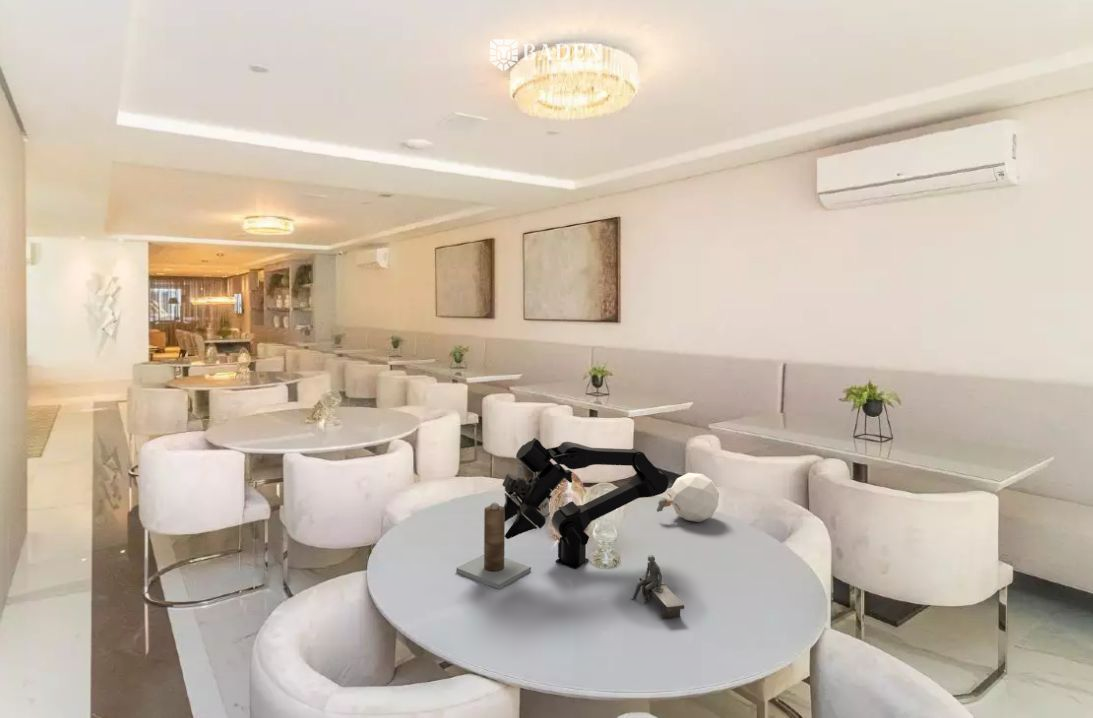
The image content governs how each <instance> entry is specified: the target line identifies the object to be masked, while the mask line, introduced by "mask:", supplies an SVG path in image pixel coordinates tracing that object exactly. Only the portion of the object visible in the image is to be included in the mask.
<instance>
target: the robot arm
mask: <svg viewBox="0 0 1093 718" xmlns="http://www.w3.org/2000/svg"><path fill="white" fill-rule="evenodd" d="M515 457H516V458H517V460H518V461H519V462H520V463H521V462H522V463H523V464H524V465H525V466H526V467H527V468H528V469H529V470H530V471H531V472H539V473H538V474H537V475H536V476H537V477H536V476H535V477H534V478H532V477H529V478H528V479H527V480H524V479H521V478H519V477H518V476H516V475H513V474H511V473H506V476H505V478H504V480H503V483H502V487H504V491H505V492H504V498H505V499H504V500H505V501H504V505H503V507H504V508H505V523H506V522H507V521H509V520H510V519H511V518H513V517H515V516H516V515H517V517H516V519H515V520H514V521H513V523H512V525H510V527H509V529H507V531H506V533H505V539H506V540H510V539H511V538H514V537H516V536H517V537H518V536H519V535H521V534H524V533H527V532H529V531H532V530H537V529H542V528H543V526H544V525H545V524H546V517H545V516H544V515H543V514H542V513H541V512H540V508H539V506H540V505H541V504H542V503H543V501H544V500H545V499H546V498H548V499H550V498H552V493H553V492H554V490H556V489H557V487H558V486H559V485H560V484H561V483H562V482H563V481H564V480H566V481H567V482H569V483H570V484H571V483H573V477H572V476H573V472H572V470H578V469H585V468H587V467H590V466H595V465H598V466H601V465H602V466H605V465H606V466H628V467H632V468H633V470H634V472H635V474H634V475H633V477H632V478H631V480H629V482H627V483H625V484H622V485H620V486H619V487H616V488H615V489H612V490H610V491H609V492H607V493H604V494H602V495H601V496H598V497H596V498H595V499H592V500H589V501H588V502H586V503H584V504H580V505H577V504H576V503H575V502H574V501H573V500H572V501H569V502H568V503H566V504H564V505H563V506H562V505H561V506H558V509H557V510H556V511H554V513H553V515H552V518H551V524H552V526H553V528H554V529H555V531H557V533H558V534H559V535H560V537H559V542H558V543H557V558H556V559H555V563H556V564H559V565H561V566H565V567H568V568H570V569H573V570H577V569H579V568H580V567H582V566H584V565H585V564H587V563H588V562H589V561H590V559H589V558H587V557H586V555H587V554H586V553H587V549H586V548H587V545H588V541H589V540H590V536H589V535H588V534H587V533H586V532H585V530H586V529H587V528H588V527H589V526H590V524H591V523H592V522H594V521H596V520H598V519H600V518H601V517H603V516H605V515H608V514H610V513H611V512H614V511H615V510H617V509H619V508H622V507H623V506H626V505H627V504H630V503H631V502H633V501H636V500H638V499H641V498H644V499H645V498H652V497H656V496H658V495H659V496H660V495H661V494H664V493H665V492H666V491H668V487H669V484H670V483H669V478H668V475H666V474H665V473H663V471H662V472H661V471H660V470H659V469H658V468H657V467H656V466H655V465H654V464H653V463H652V462H651V461H650V459H648V457H647V456H646V453H644V452H642V451H641V450H639V449H637V448H635V447H634V448H610V447H608V448H604V447H590V446H587V445H583V444H580V443H576V442H572V441H563V442H561V444H559V445H558V446H554V447H549V448H546V447H545V446H544V445H543V444H542V443H541V442H540V441H539V440H538V439H537V438H536V437H534V438H532V439H531V440H530V441H527V442H526V443H525V444H522V446H521V447H520V448H519V449H518V450H517V452H516V456H515ZM551 460H552V461H554V462H555V463H553V462H552V461H551ZM562 465H564V466H565V468H568V469H565V468H564V467H563V466H562ZM549 488H550V489H551V490H550V489H549ZM550 494H551V495H550ZM519 505H521V507H520V506H519ZM521 511H522V513H523V514H522V513H521Z"/></svg>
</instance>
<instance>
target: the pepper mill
mask: <svg viewBox="0 0 1093 718" xmlns="http://www.w3.org/2000/svg"><path fill="white" fill-rule="evenodd" d="M483 510H484V516H483V518H484V521H483V522H484V523H483V525H484V526H483V527H484V530H483V531H484V533H483V536H484V537H483V541H484V542H483V544H484V545H483V546H484V547H483V555H484V569H485V570H487V571H490V572H497V571H501V570H503V569H504V558H505V539H506V538H505V534H506V533H505V532H506V531H505V528H506V527H505V525H506V524H505V523H506V522H505V508H504V506H502V505H500V504H499V503H498V502H492V503H491V504H490V505H488V506H486V507H484V509H483Z"/></svg>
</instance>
